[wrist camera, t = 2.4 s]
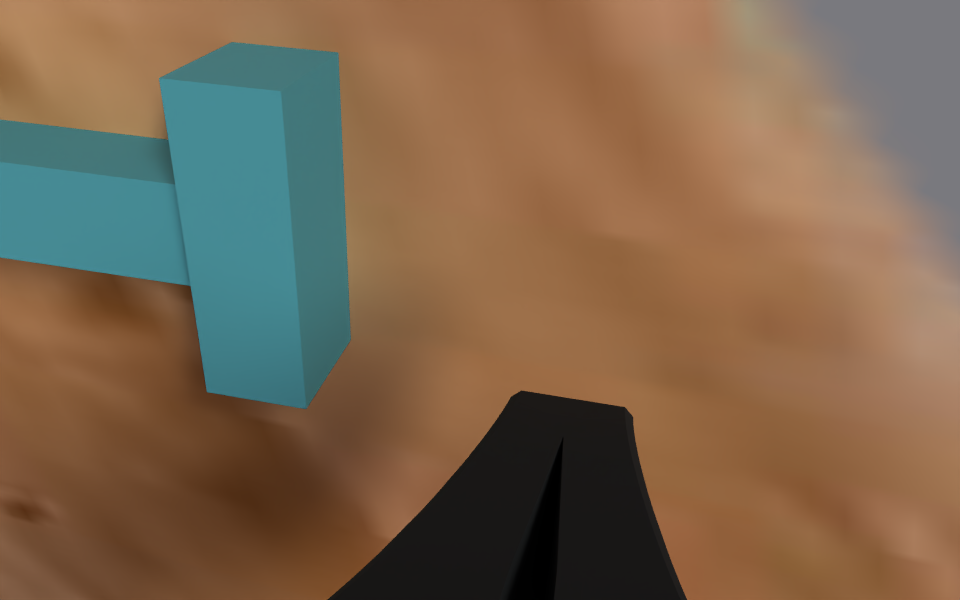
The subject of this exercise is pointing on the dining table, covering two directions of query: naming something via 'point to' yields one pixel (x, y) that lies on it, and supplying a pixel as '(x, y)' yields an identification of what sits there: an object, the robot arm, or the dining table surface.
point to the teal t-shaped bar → (209, 211)
